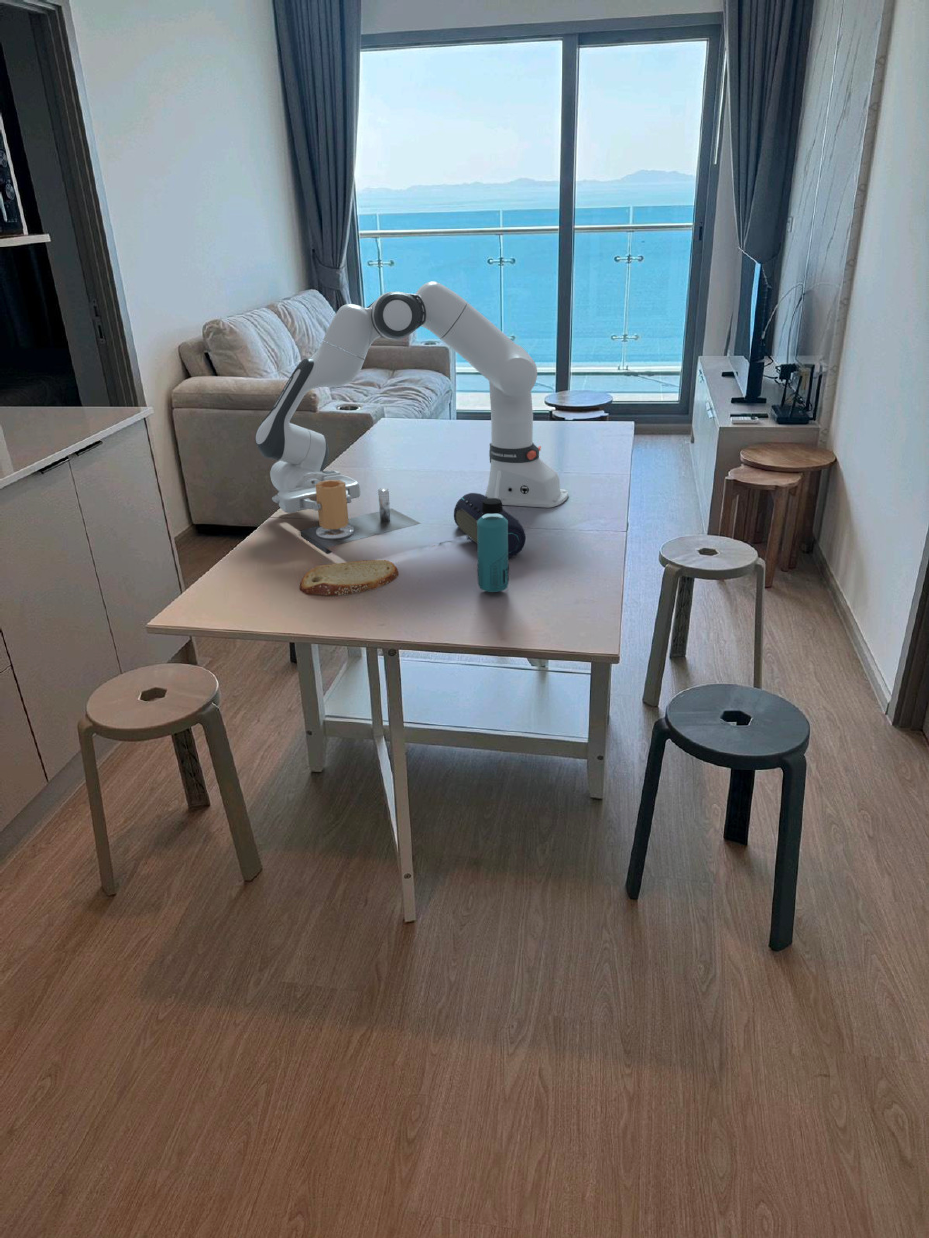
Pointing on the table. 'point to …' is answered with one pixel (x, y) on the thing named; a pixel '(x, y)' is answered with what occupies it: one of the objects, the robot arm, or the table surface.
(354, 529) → the board
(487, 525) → the beverage bottle
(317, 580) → the slice of bread
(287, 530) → the table surface
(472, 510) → the portable speaker
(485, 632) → the table surface
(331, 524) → the sleeve
